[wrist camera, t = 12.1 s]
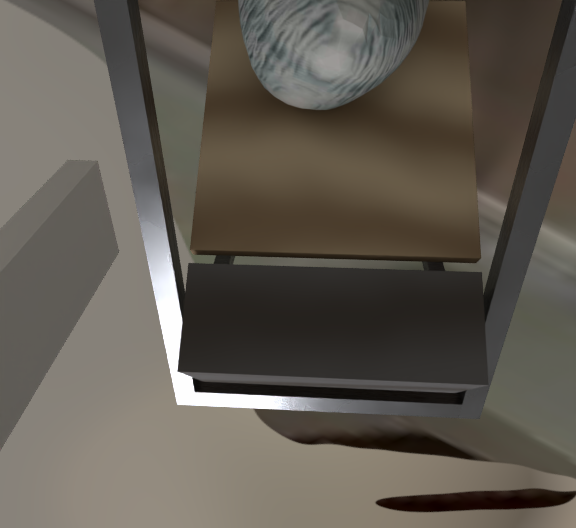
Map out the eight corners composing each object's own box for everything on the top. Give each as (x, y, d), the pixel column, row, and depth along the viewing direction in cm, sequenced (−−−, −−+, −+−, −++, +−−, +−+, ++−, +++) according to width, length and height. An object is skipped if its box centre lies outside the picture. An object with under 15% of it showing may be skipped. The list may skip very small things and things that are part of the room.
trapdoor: (454, 393, 29) (488, 385, 23) (203, 381, 30) (177, 371, 24) (440, 69, 35) (465, 1, 29) (232, 68, 36) (216, 0, 30)
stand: (433, 249, 45) (479, 418, 31) (224, 242, 46) (177, 404, 32) (507, -158, 29) (673, -190, 15) (186, -152, 30) (57, -177, 16)
